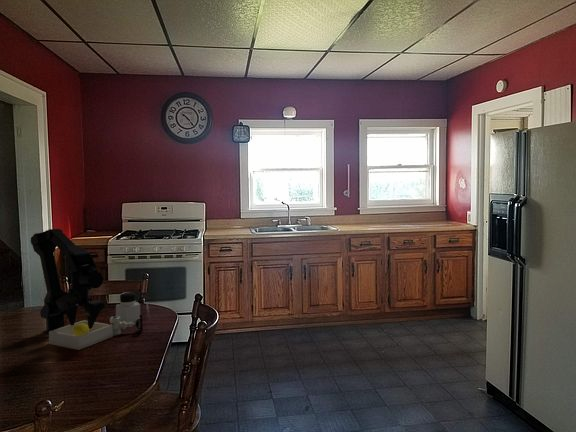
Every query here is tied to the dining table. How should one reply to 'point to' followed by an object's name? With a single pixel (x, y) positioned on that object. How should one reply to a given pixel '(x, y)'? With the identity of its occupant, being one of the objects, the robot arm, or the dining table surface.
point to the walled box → (69, 340)
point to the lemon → (81, 329)
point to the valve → (124, 324)
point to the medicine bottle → (128, 308)
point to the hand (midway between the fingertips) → (81, 326)
